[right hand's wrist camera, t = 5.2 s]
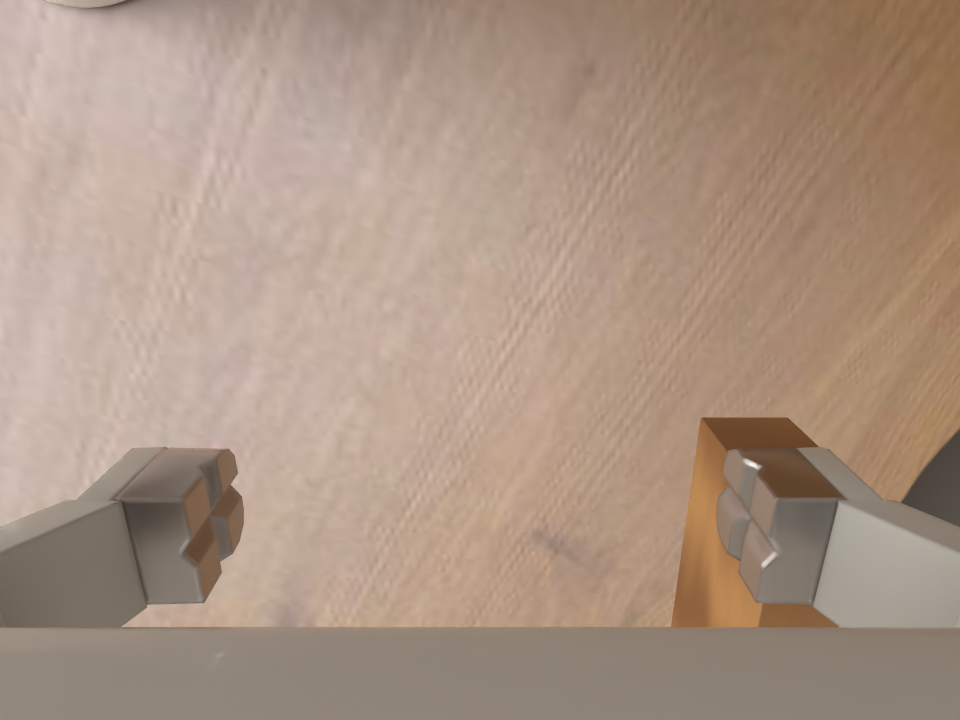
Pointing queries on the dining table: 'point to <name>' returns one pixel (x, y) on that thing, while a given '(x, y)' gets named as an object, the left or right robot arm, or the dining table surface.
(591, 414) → the dining table surface
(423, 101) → the dining table surface
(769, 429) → the bar
